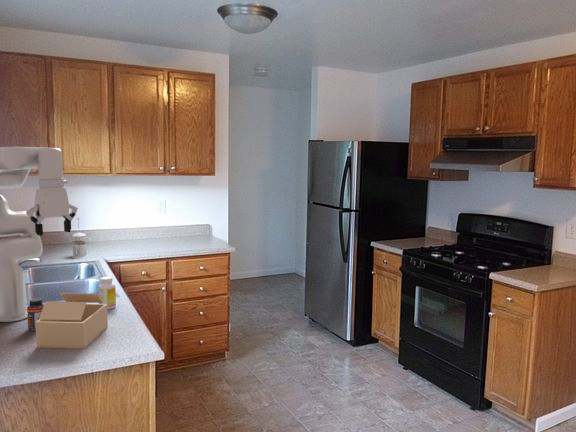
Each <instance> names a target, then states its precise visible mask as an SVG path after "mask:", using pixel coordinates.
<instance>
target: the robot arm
mask: <svg viewBox="0 0 576 432" xmlns="http://www.w3.org/2000/svg"><path fill="white" fill-rule="evenodd" d="M63 164H64V163H63V152H62V150H61V149H60V148H58V147H44V146H41V147H40V146H39V147H38V146H1V147H0V190H6V189H7V190H8V189H9V190H10V189H19V188H21V187H22V186H23V185H24V184H25V183H26V180H27V178H28V176H29V175H30V172H31V170H38V172H37V173H38V187H37V188H36V191H35V197H34V206H33V207H31V208H30V209H28V210H18V211H12V210H11V208H10V206H9V202H8V200H7V199H6V197H4V196H3V195H2V194H0V237H2V238H1V239H0V323H2V322H3V323H10V322H12V323H13V322H17V321H21V320H25V319H28V316H27V307H28V304H27V291H26V287H27V286H26V276H25V275H26V273H25V271H24V268H22V266H20V264H19V263H18V262H22V261H29V260H33V259H34V260H35V259H38V258H39V257H41V255H43V252H44V251H43V250H44V249H43V248H44V247H43V242H42V239H41V236H42V237H43V236H44V230H43V229H44V227H43V226H44V225H43V223H42V222H43V220H44V219H47V218H56V217H57V218H58V217H59V218H61V217H63V219H64V220H63V231H64V232H65V233H71V230H72V221H73V219H74V218H75V216H76V213H77V212H78V207H76V206H75V205H72V204H70V203H69V197H68V191H67V188H66V187H65V185H67V184H68V182H67V180H66V179H64V167H63ZM70 210H71V212H70ZM34 215H35V216H34ZM12 236H13V237H12ZM3 237H6V238H3Z"/></svg>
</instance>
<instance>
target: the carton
mask: <svg viewBox="0 0 576 432" xmlns="http://www.w3.org/2000/svg"><path fill="white" fill-rule="evenodd" d="M108 323H109V322H108V309H107V304H99V303H86V305H85V309H84V312H83V315H82V318H81V320H40V319H39V320H38V321H36V322H35V325H36V331H35V340H36V341H35V343H36V348H37V349H71V350H77V349H79V350H80V349H81V350H85V349H86V348H87V347H88V346H89V345H90V344H91V343H93V341H95V340H96V339H97V338H98V337H99V336H100V335H101V334H102V333H103V332H104V331H105V330H107V328H108Z"/></svg>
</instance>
